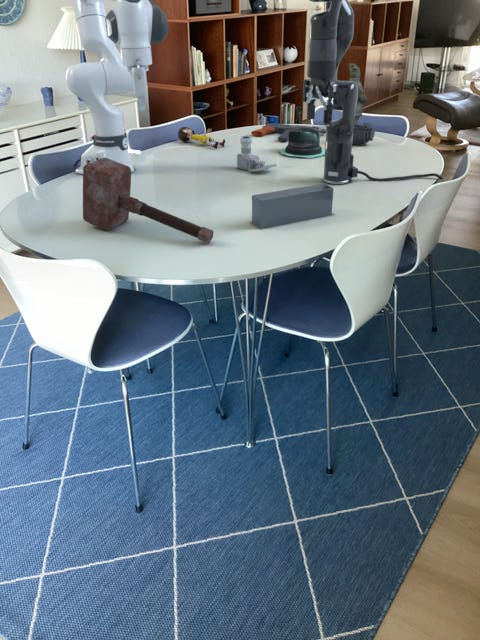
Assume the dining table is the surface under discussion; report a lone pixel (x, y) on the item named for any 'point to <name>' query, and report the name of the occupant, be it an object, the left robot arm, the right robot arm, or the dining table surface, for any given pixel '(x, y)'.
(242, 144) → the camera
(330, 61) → the right robot arm
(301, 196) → the bar
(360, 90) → the statue
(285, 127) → the submachine gun
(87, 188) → the sledgehammer
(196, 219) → the dining table surface
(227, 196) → the dining table surface
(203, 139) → the figurine
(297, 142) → the green hat
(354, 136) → the toy
